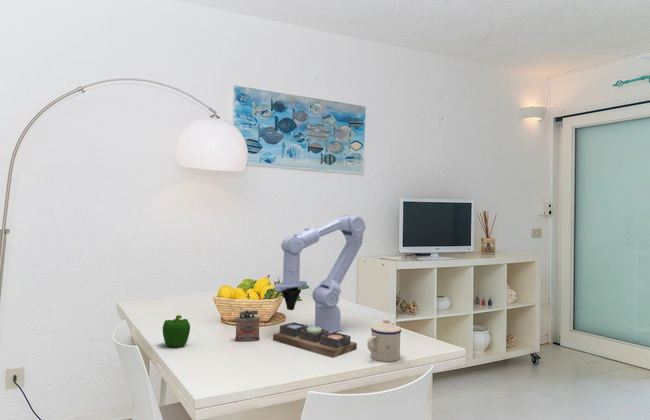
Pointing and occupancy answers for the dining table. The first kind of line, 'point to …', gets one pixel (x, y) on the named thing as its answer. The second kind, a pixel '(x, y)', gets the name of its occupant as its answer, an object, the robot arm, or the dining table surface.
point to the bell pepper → (176, 331)
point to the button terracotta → (335, 336)
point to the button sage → (314, 329)
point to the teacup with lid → (385, 341)
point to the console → (314, 340)
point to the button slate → (294, 326)
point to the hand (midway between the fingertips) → (290, 309)
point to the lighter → (247, 326)
